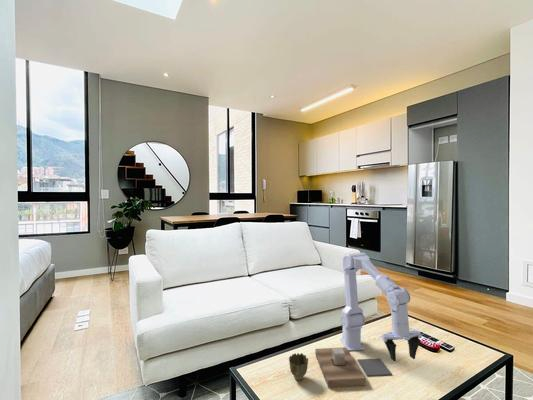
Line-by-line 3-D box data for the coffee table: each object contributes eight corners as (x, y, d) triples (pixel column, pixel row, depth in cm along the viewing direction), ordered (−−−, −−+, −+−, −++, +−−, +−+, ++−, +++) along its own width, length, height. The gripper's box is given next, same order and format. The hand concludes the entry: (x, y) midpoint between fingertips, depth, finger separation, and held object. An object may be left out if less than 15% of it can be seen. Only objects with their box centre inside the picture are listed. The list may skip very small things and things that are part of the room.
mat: (357, 360, 121) (357, 359, 121) (380, 359, 122) (380, 358, 122) (367, 376, 111) (367, 375, 111) (391, 375, 112) (391, 373, 112)
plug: (331, 366, 117) (331, 347, 117) (341, 366, 117) (341, 347, 117) (334, 372, 113) (334, 353, 113) (344, 372, 113) (344, 353, 113)
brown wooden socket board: (315, 355, 125) (315, 348, 125) (346, 353, 126) (346, 347, 126) (328, 387, 105) (328, 380, 105) (364, 385, 106) (365, 378, 106)
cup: (285, 374, 112) (285, 355, 112) (302, 370, 115) (302, 351, 115) (294, 387, 105) (294, 366, 105) (311, 382, 108) (311, 361, 108)
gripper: (387, 327, 101) (390, 366, 100) (425, 323, 103) (428, 362, 102) (377, 320, 108) (380, 356, 107) (413, 316, 110) (415, 352, 109)
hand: (402, 358), depth 105 cm, fingers open, 7 cm apart
